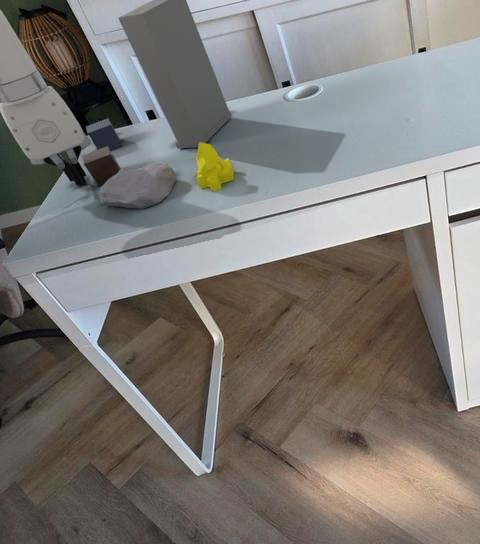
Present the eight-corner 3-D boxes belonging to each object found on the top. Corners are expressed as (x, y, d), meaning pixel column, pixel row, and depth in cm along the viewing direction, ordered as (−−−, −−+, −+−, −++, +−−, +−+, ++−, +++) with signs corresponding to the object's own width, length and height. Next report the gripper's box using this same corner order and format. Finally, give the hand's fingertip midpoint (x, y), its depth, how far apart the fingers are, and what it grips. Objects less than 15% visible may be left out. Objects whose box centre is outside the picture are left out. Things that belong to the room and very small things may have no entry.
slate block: (100, 154, 106) (87, 133, 103) (98, 147, 110) (85, 126, 107) (122, 145, 108) (110, 124, 105) (119, 138, 111) (108, 118, 108)
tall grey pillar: (209, 119, 110) (157, -4, 94) (232, 117, 108) (183, -9, 92) (177, 149, 100) (113, 18, 84) (202, 148, 98) (142, 13, 82)
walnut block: (98, 187, 94) (84, 164, 90) (96, 178, 97) (82, 155, 94) (124, 177, 95) (110, 154, 92) (120, 168, 99) (107, 145, 95)
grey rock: (165, 214, 84) (181, 174, 90) (149, 194, 80) (167, 154, 86) (107, 222, 87) (126, 183, 93) (88, 204, 83) (110, 164, 89)
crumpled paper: (233, 165, 89) (217, 125, 84) (233, 186, 83) (215, 144, 78) (202, 173, 89) (184, 134, 84) (200, 195, 83) (180, 154, 78)
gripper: (-29, 109, 78) (41, 205, 89) (67, 77, 82) (121, 173, 93) (-25, 98, 83) (40, 190, 95) (64, 69, 87) (116, 160, 99)
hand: (80, 181), depth 94 cm, fingers closed
